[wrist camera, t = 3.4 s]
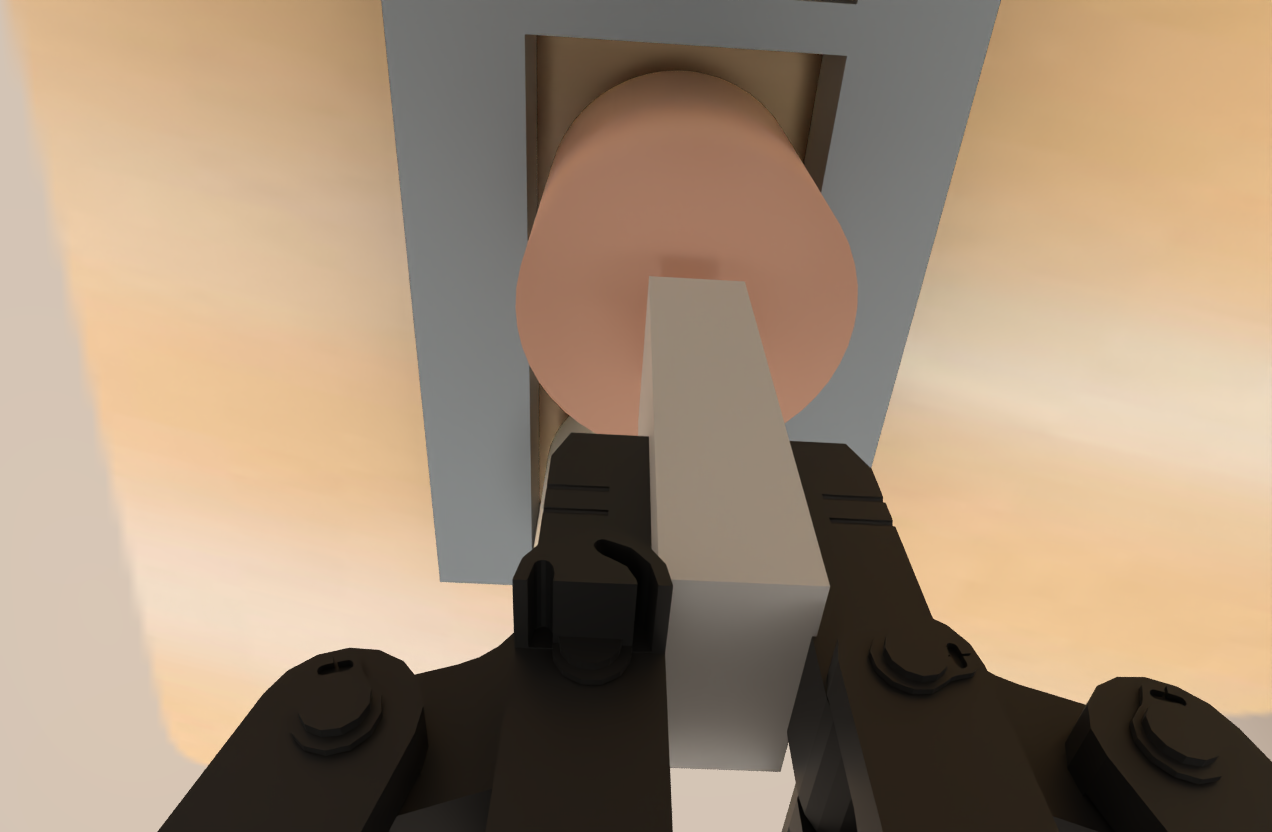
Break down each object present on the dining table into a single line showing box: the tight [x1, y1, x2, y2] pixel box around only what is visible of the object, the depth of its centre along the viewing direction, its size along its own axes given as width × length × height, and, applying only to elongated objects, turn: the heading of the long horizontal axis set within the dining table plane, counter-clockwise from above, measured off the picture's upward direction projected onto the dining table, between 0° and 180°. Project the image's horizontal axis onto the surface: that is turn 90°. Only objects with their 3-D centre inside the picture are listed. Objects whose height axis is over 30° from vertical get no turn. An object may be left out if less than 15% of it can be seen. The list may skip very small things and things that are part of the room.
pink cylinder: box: [515, 71, 858, 436], centre depth 17 cm, size 6×6×6 cm
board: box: [381, 0, 1001, 585], centre depth 20 cm, size 26×13×2 cm, turn 177°
